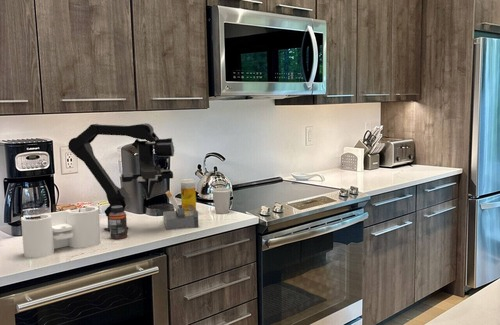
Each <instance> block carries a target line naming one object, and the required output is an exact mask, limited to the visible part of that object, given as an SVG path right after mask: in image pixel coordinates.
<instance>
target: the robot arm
mask: <svg viewBox="0 0 500 325" xmlns="http://www.w3.org/2000/svg"><path fill="white" fill-rule="evenodd" d="M99 135H102V136H124V137H125V136H126V137H130V138H133V139H135V140H134V141H133V143H131V146H132V147H133V146H135V147H136V146H137V156H138V158H137V159H138V160H137V161H138V173H133V172H131V171H129V172H122V173H121V175H120V178H121V182H122V183H128V182H132V181H133V180H136V182H137V184H141V186H142V188H143V190H144V193H145V196H146V198H147V199H151V195H152V191H153V188H154V186H155V184H156V183H157V182H159V180H158V178H164V179H165V180H168V179H174V173H173V171H172V170H171V169H161V165H160V164H155V155H156V156H157V157H159V158H161V157H162V158H166V157H167V158H168V157H174V155H175V146H174V142H173V138H172V137H169V138H159V137H158V135H157V134H156V132H154V127H153V126H152V125H151V124H150V123H145V122H144V123H138V124H132V125H123V124H122V125H120V124H118V125H117V124H98V123H93V124H90V125H89V126H88V127H87V128H86V129H85V130H83V131H82V132H81V133H80V134H78V135H77V137H73V138H71V139H70V140H69V142H68V145H67V148H68V150H69V151H70V152H71V153H72V154H73V155H74V156H75V157H77V159H80V160H81V161H82V162H83V163H84V164H85V166H86V167H87V169H88V170H89V171H90V173H91V174H92V176H93V177H94V179H95V180H96V181H97V183H98V184H99V185H100V187H101V189H103V191H104V192H105V196H106V198H107V202H108V204H109V205H108V206H107V208H106V209H105V210H104V214H105V216H106V217H107V227H105V228H104V230H105V231H109V232H110V224H109V214H110V213H111V207H112V206H118V205H120V206H123V211H124V212H125V210H126V208H127V207H128V206H129V205H130V203H131V202H130V201H131V199H130V194H129V193H127V190H126V189H125V187H124V186H122V187H119V186H117V185H116V184H115V183H114V181H113V179H112V178H111V177H110V175H109V174H108V173H107V171H106V169H104V167H103V166H102V164H101V163H100V162H99V160H98V159H97V158H96V156H95V153H94V150H93V147H92V145H91V143H92V142H93V141H94V140H95V139H96V138H97V137H98V136H99ZM147 180H148V185H147ZM128 229H129V227H128V226H127V230H128Z"/></svg>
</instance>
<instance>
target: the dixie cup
mask: <svg viewBox="0 0 500 325" xmlns="http://www.w3.org/2000/svg"><path fill="white" fill-rule="evenodd" d="M231 191H232V189H231V188H227V187H219V188H217V187H216V188H212V190H211V192H212V197H213V199H212V200H213V205H214V212H215V214H219V215H224V214H229V210H230V200H231Z"/></svg>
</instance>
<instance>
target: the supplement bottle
mask: <svg viewBox="0 0 500 325" xmlns="http://www.w3.org/2000/svg"><path fill="white" fill-rule="evenodd" d="M127 221H128V220H127V213H126V212H125V211H123V206H120V205H118V206H112V207H111V213H110V214H109V224H110V231H109V234H110V238H111V239H114V240H121V239H125V238H127V236H128V229H127V227H128V222H127Z"/></svg>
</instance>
